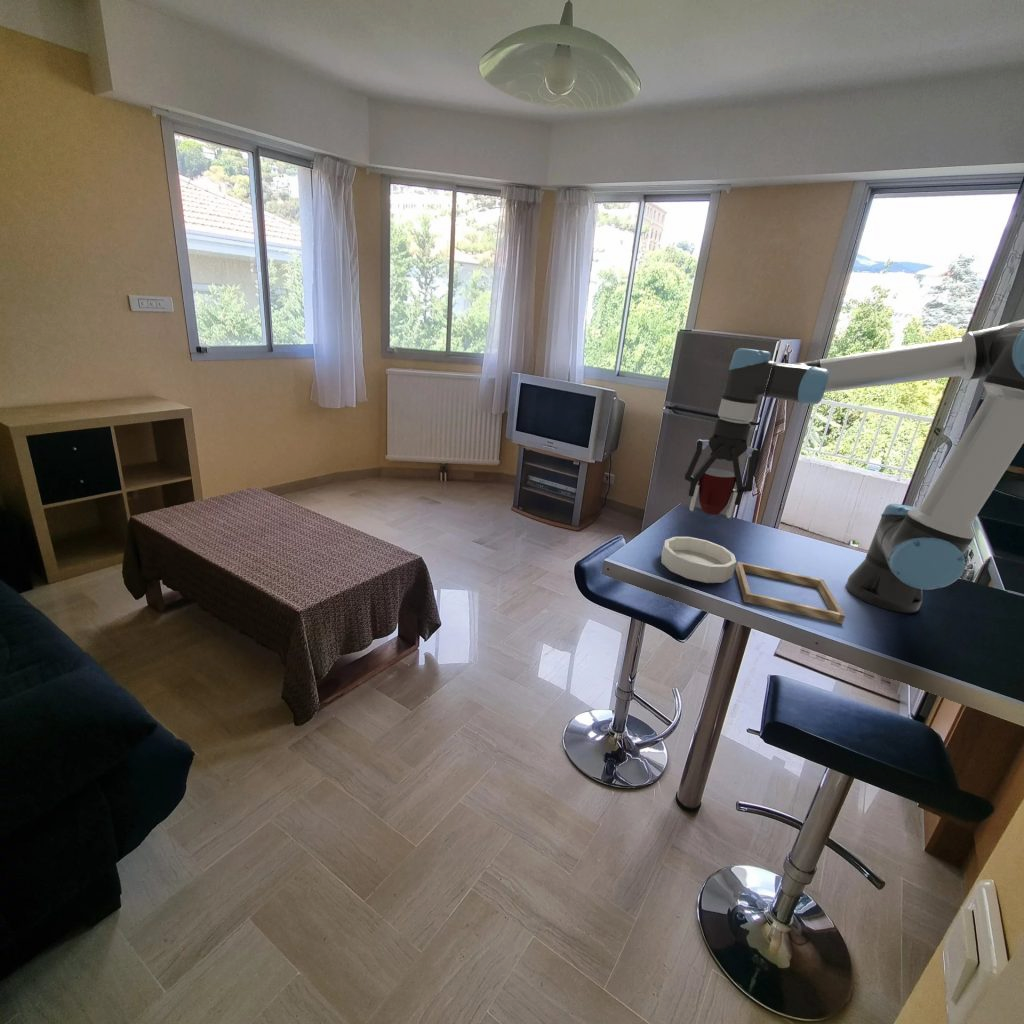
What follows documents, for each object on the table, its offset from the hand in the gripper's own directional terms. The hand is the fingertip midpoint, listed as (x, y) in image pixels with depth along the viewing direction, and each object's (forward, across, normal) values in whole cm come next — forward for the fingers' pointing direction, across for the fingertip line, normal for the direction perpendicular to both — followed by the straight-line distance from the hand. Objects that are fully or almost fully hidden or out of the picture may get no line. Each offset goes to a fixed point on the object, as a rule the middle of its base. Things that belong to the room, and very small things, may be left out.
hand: (709, 512), depth 126 cm
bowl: (+15, 0, 0) cm, 15 cm away
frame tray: (+15, -20, +5) cm, 25 cm away
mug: (0, 0, 0) cm, 0 cm away
